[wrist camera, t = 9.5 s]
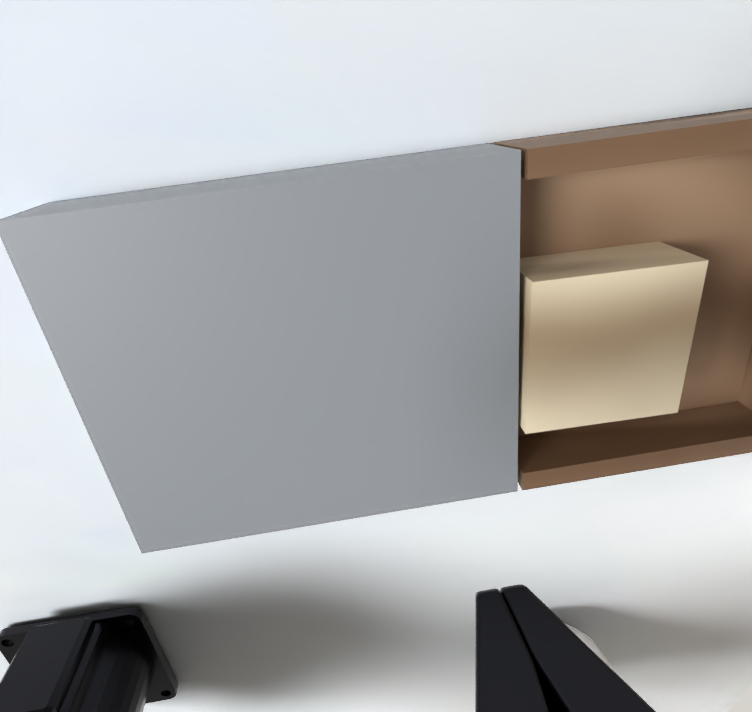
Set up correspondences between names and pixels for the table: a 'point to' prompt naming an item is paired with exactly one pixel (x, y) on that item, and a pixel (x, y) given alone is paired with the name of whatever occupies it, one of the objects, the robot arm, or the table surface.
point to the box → (642, 225)
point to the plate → (289, 339)
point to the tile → (605, 334)
